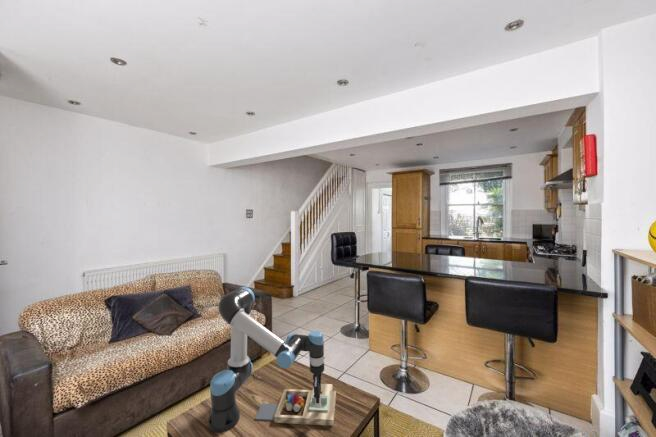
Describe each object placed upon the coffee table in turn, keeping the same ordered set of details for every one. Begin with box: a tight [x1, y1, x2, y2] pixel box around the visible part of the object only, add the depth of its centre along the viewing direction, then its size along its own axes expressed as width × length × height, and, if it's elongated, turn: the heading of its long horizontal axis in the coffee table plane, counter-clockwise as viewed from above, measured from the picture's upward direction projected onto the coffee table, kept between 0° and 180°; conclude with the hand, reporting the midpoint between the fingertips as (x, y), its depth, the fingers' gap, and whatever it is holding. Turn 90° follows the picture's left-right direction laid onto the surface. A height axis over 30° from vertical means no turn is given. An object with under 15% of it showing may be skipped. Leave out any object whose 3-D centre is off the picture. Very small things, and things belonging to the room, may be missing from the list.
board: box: [273, 383, 337, 427], centre depth 151 cm, size 30×27×3 cm
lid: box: [309, 395, 330, 411], centre depth 147 cm, size 10×11×4 cm
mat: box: [254, 402, 279, 422], centre depth 146 cm, size 11×11×1 cm
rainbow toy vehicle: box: [285, 393, 304, 413], centre depth 149 cm, size 8×10×7 cm
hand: (318, 407), depth 142 cm, fingers closed
